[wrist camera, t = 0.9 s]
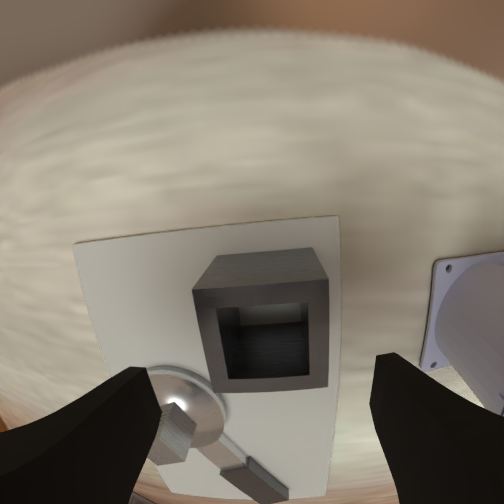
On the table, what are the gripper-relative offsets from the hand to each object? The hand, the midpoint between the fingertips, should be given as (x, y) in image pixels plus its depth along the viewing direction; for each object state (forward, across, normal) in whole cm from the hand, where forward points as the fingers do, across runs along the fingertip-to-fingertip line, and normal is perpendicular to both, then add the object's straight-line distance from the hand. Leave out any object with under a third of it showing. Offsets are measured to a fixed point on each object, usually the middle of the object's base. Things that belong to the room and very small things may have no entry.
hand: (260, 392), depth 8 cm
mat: (+8, +4, +10) cm, 13 cm away
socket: (+8, 0, 0) cm, 8 cm away
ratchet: (+8, +5, +13) cm, 16 cm away
